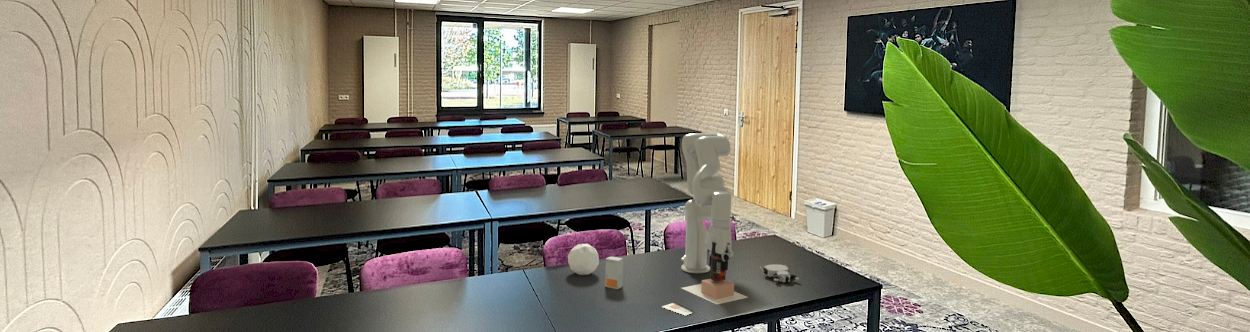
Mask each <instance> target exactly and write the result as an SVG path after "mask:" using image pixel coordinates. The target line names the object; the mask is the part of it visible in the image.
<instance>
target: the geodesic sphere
mask: <svg viewBox="0 0 1250 332" xmlns="http://www.w3.org/2000/svg"><path fill="white" fill-rule="evenodd" d="M567 262H568V266H569V268H570V270H571V271H572V272H574V273H575V274H577V275H579V276H585V275H591V273H593V272H595V271H596V268H597V267H598V266H599V264H600V259H599V253H598V251H597V249H596V248H595V247H594V246H592V245H590V244H589V243H579V244H576V245H575V246H574V247H573V248H572V249H571V250H570V251H569V253H568V255H567Z"/></svg>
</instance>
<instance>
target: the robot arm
mask: <svg viewBox="0 0 1250 332" xmlns="http://www.w3.org/2000/svg"><path fill="white" fill-rule="evenodd" d="M681 150H682V153H683V156H684V159H685V163H686V181H687V192H688V194H689V195H690V196H691V195H692V196H693V198H692V199H689V200H687V201H686V202H685V204H684V216H685V252H684V256H683V257H681V259H680V260H681V261H682V262H683V264H682V265H681V267H680V268H681V270H682V271H683V272H685V273H690V274H705V273H709V272H711V251H712V242H714V243H716V248H715V252H716V253H718V254H721V257H722V261H721V269H720V270H721V271H726V272H727V271H728V270H729V261H730V259H731V258H732V257H733V256H734V251H733V250H732V243H733V242H732V229H731V215H732V214H731V213H732V194H731V192H730V191H729V189H728V188H726V187H725V182H724V179H723V176H721V175H720V174H718V173H719V172H720V170H721V163H720V159H719V157H728V156H729V154H730V152H731V142H730V140H729V139H728V137H727V136H725V135H723V134H722V133H715V132H714V133H710V132H709V133H705V132H704V133H703V132H695V133H693V132H692V133H688V134H685V135H683V137H682V139H681ZM706 221H709V222H710V224H709V225H708V227H707V226H706V225H705V224H704V223H703V222H706ZM725 251H726V253H725ZM724 254H726V256H725V257H724ZM708 257H709V265H708V264H707V263H708V262H707V261H708V259H707V258H708Z"/></svg>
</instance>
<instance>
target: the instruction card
mask: <svg viewBox="0 0 1250 332" xmlns="http://www.w3.org/2000/svg"><path fill="white" fill-rule="evenodd" d="M661 307H662V309H664V308H665V309H664V310H667V311H669V310H671V311H670V312H672V311H673V313H675V312H676V313H675V314H677V313H679V314H678V315H680V314H682V315H681V316H683V315H684V316H683V317H687V315H688V316H690V315H689V314H691V315H693V314H696V313H695V312H696V311H694V310H693V309H689V308H688V307H686V306H684V305H682V304H680V303H678V302H676V301H675V302H672V303H669V304H665V305H662V306H661ZM692 313H693V314H692Z"/></svg>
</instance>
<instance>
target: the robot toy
mask: <svg viewBox="0 0 1250 332" xmlns="http://www.w3.org/2000/svg"><path fill="white" fill-rule="evenodd" d="M759 268H760V270H761V271H762V273H763V274H765V276H767V277H768V278H773V281H774V282H779V283H789V282H790V281H791V280H792V281H799V280H800V277H798V276H797V275H796V274H792V273H791V274H790V268H789V267H788V266H787V265H786V264H784V265H783V264H768V265H767V264H766V265H765V266H763V268H762V266H759Z"/></svg>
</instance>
